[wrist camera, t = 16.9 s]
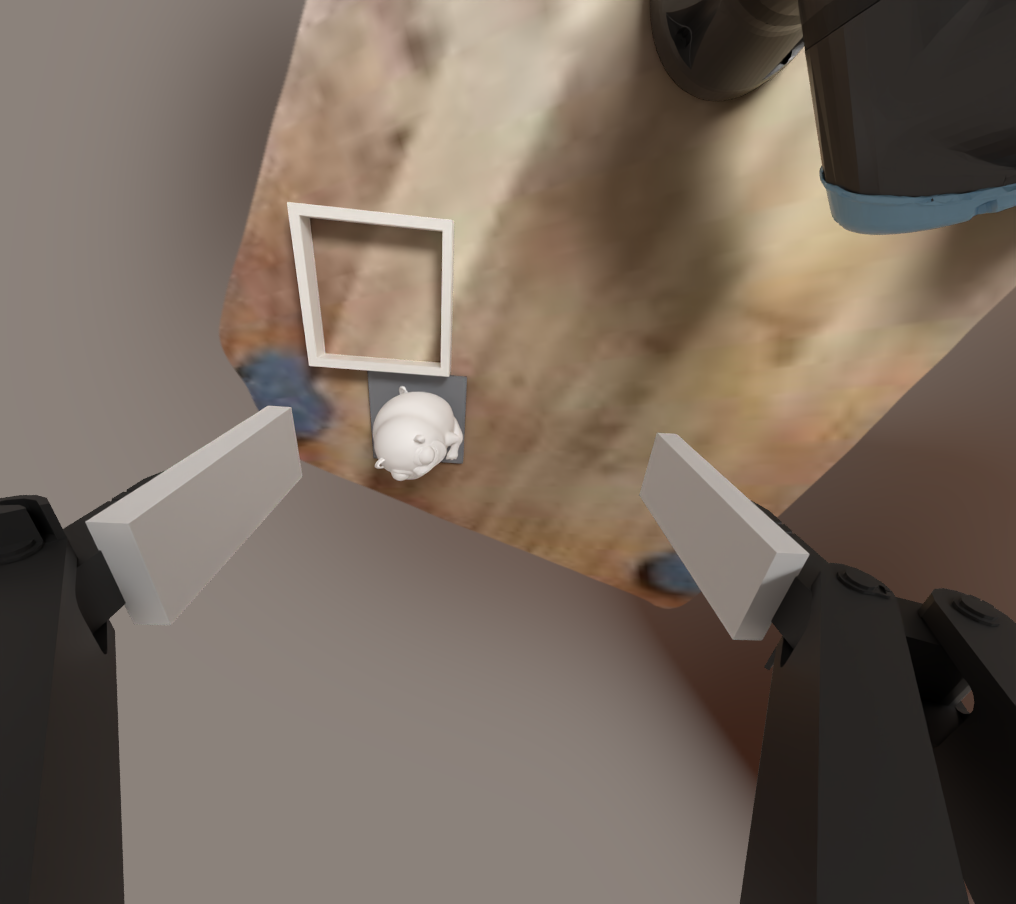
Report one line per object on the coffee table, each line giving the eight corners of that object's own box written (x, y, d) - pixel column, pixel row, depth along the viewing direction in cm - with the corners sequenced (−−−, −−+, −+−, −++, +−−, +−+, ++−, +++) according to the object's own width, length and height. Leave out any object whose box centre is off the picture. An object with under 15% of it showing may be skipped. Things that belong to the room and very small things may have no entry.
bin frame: (298, 205, 39) (286, 201, 37) (454, 222, 41) (452, 220, 38) (317, 361, 46) (309, 365, 44) (450, 371, 48) (449, 376, 45)
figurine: (367, 397, 48) (332, 435, 37) (437, 367, 47) (422, 397, 36) (406, 461, 52) (384, 513, 41) (471, 435, 51) (466, 481, 40)
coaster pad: (368, 369, 47) (367, 370, 46) (466, 376, 48) (466, 377, 47) (374, 456, 52) (373, 458, 52) (463, 461, 53) (462, 463, 53)
